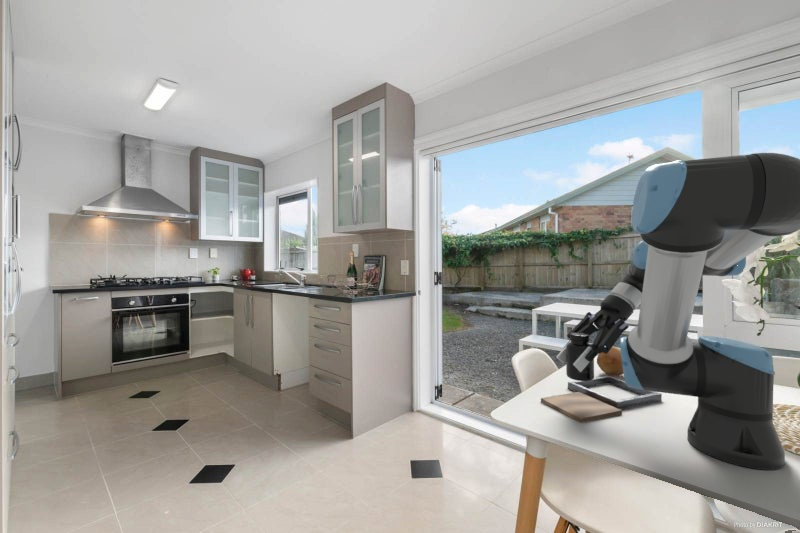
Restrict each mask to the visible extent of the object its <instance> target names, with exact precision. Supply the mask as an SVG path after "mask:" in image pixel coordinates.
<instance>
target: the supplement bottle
mask: <svg viewBox="0 0 800 533" xmlns="http://www.w3.org/2000/svg"><path fill="white" fill-rule="evenodd" d="M569 333H570V332H569ZM590 336H591V335H590ZM590 336H589V334H585V333H570V339H569V340H570V341H571V342H570V343H568V342H567V343H568V344H567V343H566V344H567V346H566V362H565V363H566V365H565V367H566V370H565V371H566V372H565V373H566V377H567V378H569V379H571V380H573V381H577V380H578V381H591V380H593V379H594V378H595V358H594V359H593V360H592V361H591V362H589V363H588V365H587V366H586V367H585V368H584V369H583V370H582V372H580V371H579V370H578V369H577V368H576V367H575V366H574V365H573V364H574V362H575V361H576V360H577V359H578V358H579V357H580V355H581V354H582V353H583V352H584V351H585V350H586V348H587V347H588V346H589V347H591V346H590V344H591V343H590V342H591V340H590ZM591 348H592V347H591Z"/></svg>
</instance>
